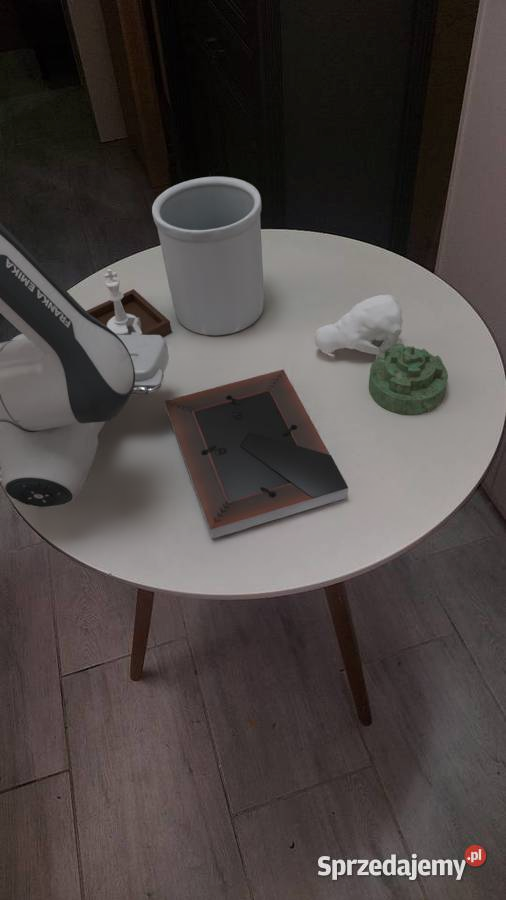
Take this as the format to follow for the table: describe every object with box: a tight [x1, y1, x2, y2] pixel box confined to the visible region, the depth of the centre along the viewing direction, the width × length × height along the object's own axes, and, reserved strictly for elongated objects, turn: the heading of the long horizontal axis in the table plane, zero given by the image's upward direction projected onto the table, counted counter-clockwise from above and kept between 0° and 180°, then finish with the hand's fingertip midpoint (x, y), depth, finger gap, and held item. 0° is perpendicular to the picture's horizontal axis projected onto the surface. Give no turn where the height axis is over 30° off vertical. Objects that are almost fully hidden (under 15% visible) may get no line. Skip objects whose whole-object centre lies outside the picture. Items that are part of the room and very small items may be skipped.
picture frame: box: [164, 369, 349, 540], centre depth 84 cm, size 16×2×22 cm
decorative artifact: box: [368, 343, 449, 415], centre depth 89 cm, size 10×7×10 cm
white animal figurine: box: [313, 294, 403, 359], centre depth 94 cm, size 6×8×12 cm
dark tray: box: [86, 288, 173, 338], centre depth 102 cm, size 11×11×2 cm
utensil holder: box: [151, 176, 265, 336], centre depth 99 cm, size 15×15×18 cm
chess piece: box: [103, 268, 137, 335], centre depth 99 cm, size 5×5×10 cm
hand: (100, 321), depth 92 cm, fingers open, 8 cm apart
